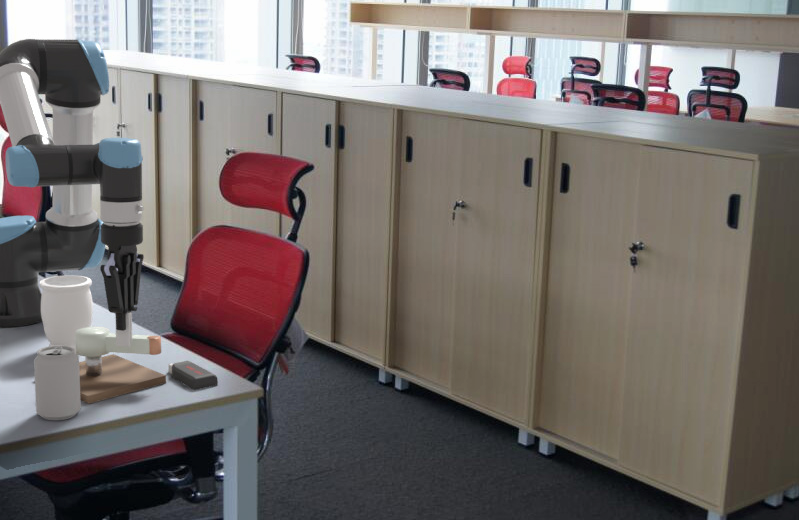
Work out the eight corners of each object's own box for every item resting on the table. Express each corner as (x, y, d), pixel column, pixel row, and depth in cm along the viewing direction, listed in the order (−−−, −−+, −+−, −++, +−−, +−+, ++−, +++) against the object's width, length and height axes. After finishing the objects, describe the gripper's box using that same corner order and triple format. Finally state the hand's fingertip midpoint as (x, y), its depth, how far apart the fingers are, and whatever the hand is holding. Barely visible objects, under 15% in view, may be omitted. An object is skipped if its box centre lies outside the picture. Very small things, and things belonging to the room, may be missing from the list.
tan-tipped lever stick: (70, 355, 199) (69, 335, 198) (83, 345, 205) (82, 325, 204) (155, 360, 198) (155, 340, 197) (166, 350, 204) (165, 330, 203)
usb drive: (193, 391, 200) (193, 378, 200) (164, 374, 209) (164, 361, 209) (217, 386, 204) (217, 373, 203) (187, 369, 213) (187, 356, 212)
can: (29, 421, 182) (26, 354, 180) (45, 405, 190) (43, 342, 187) (72, 423, 182) (69, 356, 179) (86, 407, 189) (84, 344, 187)
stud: (82, 373, 203) (82, 352, 202) (96, 370, 205) (95, 349, 204) (91, 377, 201) (90, 356, 200) (105, 373, 203) (104, 353, 202)
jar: (78, 359, 216) (76, 288, 212) (32, 354, 218) (29, 284, 214) (103, 344, 226) (101, 276, 223) (58, 340, 228) (56, 272, 225)
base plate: (37, 379, 203) (36, 372, 202) (113, 361, 215) (113, 354, 215) (88, 403, 191) (88, 396, 191) (166, 382, 204) (165, 375, 203)
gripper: (124, 229, 187) (126, 356, 192) (155, 218, 199) (157, 338, 204) (85, 226, 189) (89, 352, 193) (119, 215, 201) (121, 334, 206)
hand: (124, 345), depth 199 cm, fingers closed
